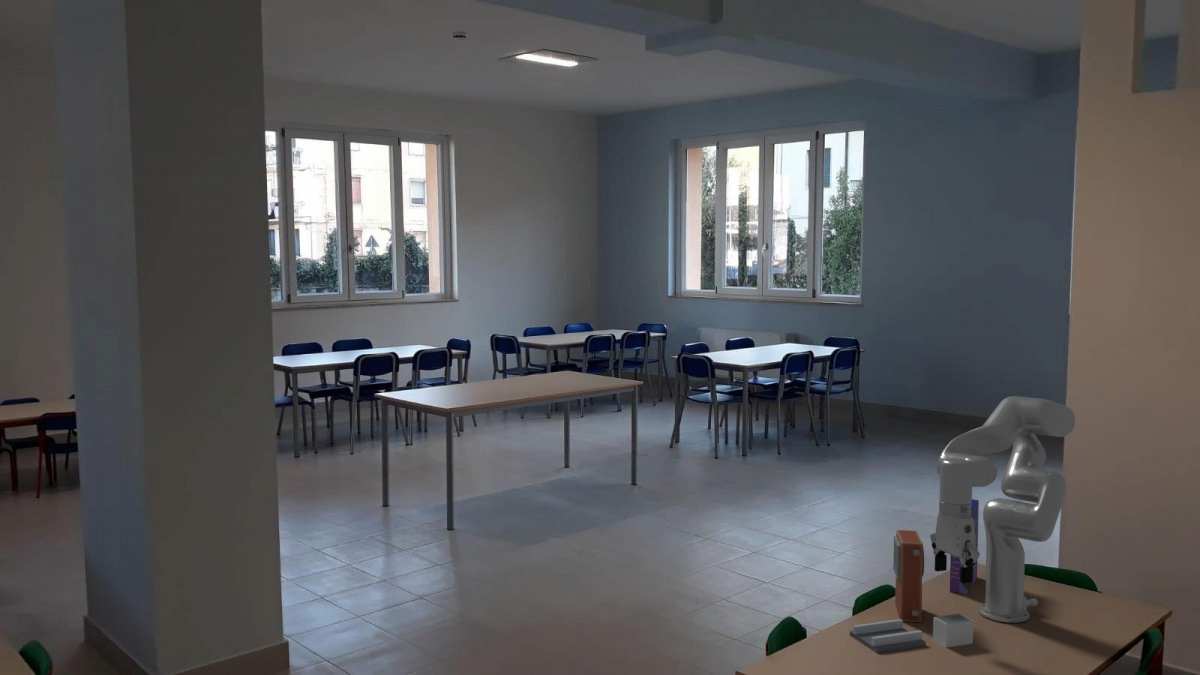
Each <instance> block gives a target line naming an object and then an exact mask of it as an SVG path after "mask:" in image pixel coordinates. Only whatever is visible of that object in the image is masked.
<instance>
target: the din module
mask: <svg viewBox="0 0 1200 675" xmlns="http://www.w3.org/2000/svg"><path fill="white" fill-rule="evenodd" d="M932 619H933V621H932V628H933V629H932V641H934V642H935V643H937V644H939V645H940V646H942V647H944V648H945V649H947V648H954V647H960V646H967V645H972V644H974V620H973V619H971V618H969V617H967V616H965V615H963V614H961V613H955V614H948V615H941V616H934V617H933V618H932Z"/></svg>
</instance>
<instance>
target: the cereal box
mask: <svg viewBox="0 0 1200 675" xmlns="http://www.w3.org/2000/svg"><path fill="white" fill-rule="evenodd" d="M979 501H980V500H978V499H974V498H972V507H971V517H973V521H974V527H975V541H976V549H977V550H978V548H979V547H978V546H979V539H978V538H979V507H980V505H979V504H980V503H979ZM978 551H979V550H978ZM962 554H963V553H962ZM949 560H950V563H949V564H950V567H949V593H952V592H954V593H953V594H958V593H959V595H964V594H965V596H967V594H968V595H969V592H970V591H971V589H972V587H973V586H974V584H975V582H976V580H977V579H978V562H977V563H976V564H975V566H974V567H973V579H972V582H971V583H961V582H960V568H961V567H963V566H962V564H961V561H960V559H959V558H958V557H955V556H953V555H950V558H949ZM967 560H968V559H967V558H965V561H967ZM976 578H977V579H976Z"/></svg>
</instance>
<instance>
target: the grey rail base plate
mask: <svg viewBox="0 0 1200 675" xmlns="http://www.w3.org/2000/svg"><path fill="white" fill-rule="evenodd" d="M903 623H904V621H903V620H901V619H900V618H899V619H898V618H897V619H890V620H885V621H884V620H883V621H877V622H870V623H863V624H854V625H853V626H852V630H850V631H849V636H851V637H852V638H854V639H856V640H857V641H858V642H860V643H861V644H863V645H864V646H866V647H867V648H869V649H870V648H871V650H872V651H873V650H874V651H873V652H874V653H876V654H877V653H879V652H880V653H886V652H892V651H899V650H905V649H906V650H907V649H912V648H920V647H926V645H927V644H926V643H927V641H925V640H924V639H923V631H922V630H920V629H919V630H912V631H908V630H907V629H905V628H904V625H903Z"/></svg>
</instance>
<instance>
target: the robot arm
mask: <svg viewBox="0 0 1200 675" xmlns="http://www.w3.org/2000/svg"><path fill="white" fill-rule="evenodd" d="M1075 425H1076V417H1075V413H1074V411H1073V410H1072V409H1071V408H1070V407H1069V406H1067V405H1065V404H1061V403H1059V402H1055V401H1054V400H1049V399H1045V398H1038V397H1037V398H1036V397H1027V396H1016V395H1014V396H1012V395H1011V396H1007V397H1005V398H1004V399H1002V400H1001V401H1000V402H999V403H998V405H997V406H996V408H995V409H994V410H993V411H992V412H991V414H990V416H989V417H988V418H987V419H986V421H985V422H984V423H983V425H982V426H979V427H976V428H973V429H971V430H969V431H967V432H964V433H962V434H960V435H958V436H956V437H954V438H953V439H952V440H950V441H949V443H948V444H947V446H946V447H945V448H944V449H943V450H942V452H941V453H940V455H939V458H938V459H937V463H936V472H937V474H938V476H939V499H938V500H939V502H938V504H939V505H938V514H937V518H936V524H935V525H936V527H935V532H934V533H932V534H930V535H929V538H930V541H931V546H932V550H933V551H932V552H933V555H934V571H935V572H945V571H947V568H948V564H947V563H948V562H947V561H948V555H950V556H951V555H953V556H955V557H958V558H959V559H960V561H961V564H962V566H963V567H961V568H960V582H961V583H971V582H972V579H973V567H974V566H975V564H976V563H977V564H978V560H979V557H980V555H981V554H980V552H979V550H977V549H976V541H975V527H974V521H973V517H971V507H972V499H973V487H975V488H978V487H979V488H980V487H981V488H983V487H988V486H990V485H992V484H993V483H994V482H995V480H996V478H997V476H998V467H997V464H995V462H994V461H993V460H992V459H990V458H988V457H986V456H980V455H988V454H994V453H1000V452H1004V451H1005V450H1008V449H1010V448H1011V447H1012V450H1011V454H1010V457H1009V459H1008V462H1007V465H1006V468H1005V470H1004V473H1003V476H1002V478H1001V482H1000V489H1001V492H1002V494H1003V495H1005V496H1006V497H1008V498H1003V497H1002V498H999V497H998V498H992V499H990V500H989V501H987V502H986V503H985V505H984V508H983V511H982V516H983V517H982V519H983V526H984V530H985V539H986V540H985V542H986V543H985V544H986V545H985V546H986V547H985V548H986V549H985V550H986V551H985V552H986V554H985V587H984V588H985V595H984V596H985V597H984V603H982V604H980V605H979V606H978V613H979V614H980V616H983V617H984V618H987V619H989V620H992V621H997V622H1001V623H1011V624H1014V623H1015V624H1017V623H1023V622H1026V621H1029V619H1030V616H1031V614H1030V612H1029V611H1028V610H1027V609H1028V608H1029V607H1036V606H1038V604H1039V602H1038V599H1037V598H1029V599H1027V597H1026V596H1025V562H1026V561H1025V560H1026V555H1025V550H1024V546H1023V544H1022V541H1021V540H1020V539H1022V540H1028V541H1033V542H1038V543H1043V542H1047V541H1048V540H1049V539H1050V538H1051V537H1052V534H1053V532H1054V530H1055V528H1056V524H1057V521H1058V519H1059V516H1060V512H1061V509H1062V508H1063V504H1064V501H1065V497H1066V492H1067V483H1066V480H1065V477H1064V476H1063V474H1062V473H1061V472H1059V471H1057V470H1054V469H1049V468H1044V465H1045V461H1046V457H1047V455H1046V454H1047V453H1046V451H1045V448H1044V447H1043V445H1042V443H1041V442H1040V440H1039V439H1038V437H1037V436H1036V435H1043V436H1052V437H1057V438H1058V437H1060V438H1064V437H1067V436H1069V435H1070V434H1071V433H1073V431H1074V428H1075ZM1009 498H1011V499H1009ZM962 553H963V554H962ZM947 554H948V555H947ZM965 558H967V559H968V560H967V561H965Z"/></svg>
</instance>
